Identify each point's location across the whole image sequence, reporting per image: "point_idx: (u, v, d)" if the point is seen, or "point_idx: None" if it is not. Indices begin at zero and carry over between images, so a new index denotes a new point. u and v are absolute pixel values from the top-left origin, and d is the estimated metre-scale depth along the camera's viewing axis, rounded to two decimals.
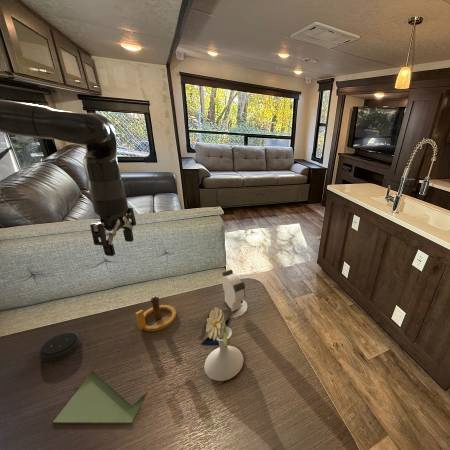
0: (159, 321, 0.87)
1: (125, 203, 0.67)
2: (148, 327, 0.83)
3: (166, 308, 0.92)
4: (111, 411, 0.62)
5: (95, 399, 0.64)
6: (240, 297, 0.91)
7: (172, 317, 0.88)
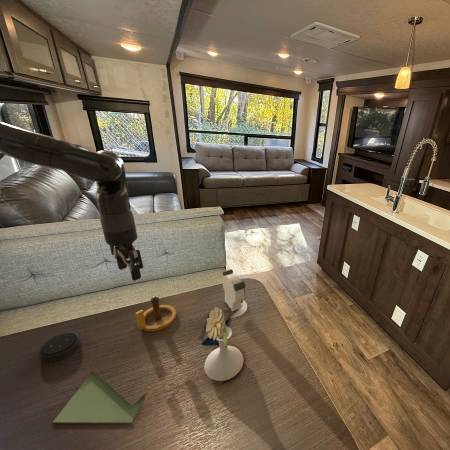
0: (159, 321, 0.87)
1: None
2: (148, 327, 0.83)
3: (166, 308, 0.92)
4: (111, 411, 0.62)
5: (95, 399, 0.64)
6: (240, 296, 0.91)
7: (172, 317, 0.88)
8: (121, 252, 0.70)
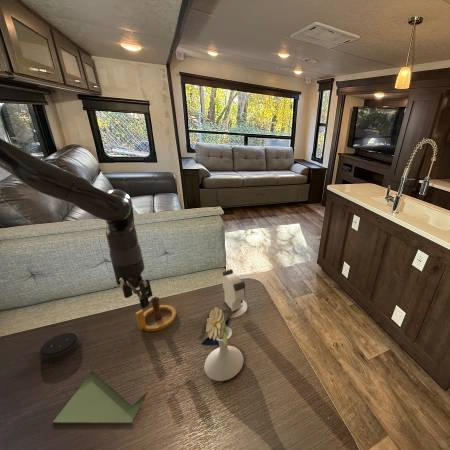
0: (159, 321, 0.87)
1: None
2: (148, 327, 0.83)
3: (166, 308, 0.92)
4: (111, 411, 0.62)
5: (95, 399, 0.64)
6: (240, 296, 0.91)
7: (172, 317, 0.88)
8: (130, 283, 0.73)
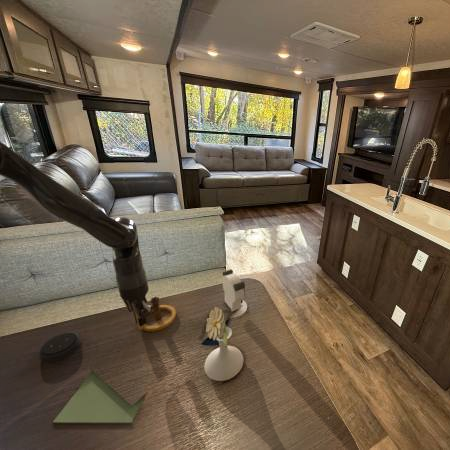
0: (159, 321, 0.87)
1: None
2: (148, 327, 0.83)
3: (166, 308, 0.92)
4: (111, 411, 0.62)
5: (95, 399, 0.64)
6: (240, 297, 0.91)
7: (172, 317, 0.88)
8: (135, 304, 0.76)
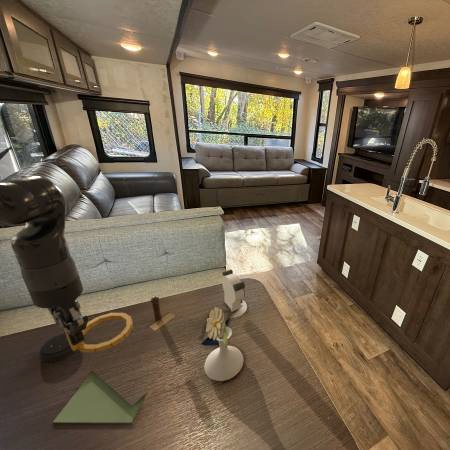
0: (159, 321, 0.87)
1: None
2: (86, 347, 0.56)
3: (120, 317, 0.66)
4: (111, 411, 0.62)
5: (95, 399, 0.64)
6: (240, 297, 0.91)
7: (125, 331, 0.61)
8: (59, 314, 0.50)
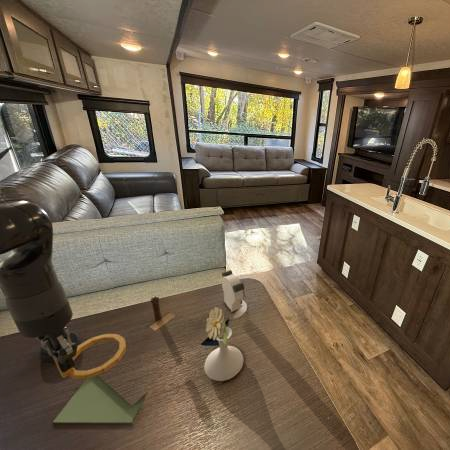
0: (159, 321, 0.87)
1: None
2: (76, 373, 0.54)
3: (113, 338, 0.64)
4: (111, 411, 0.62)
5: (95, 399, 0.64)
6: (239, 298, 0.91)
7: (118, 354, 0.59)
8: (47, 343, 0.48)
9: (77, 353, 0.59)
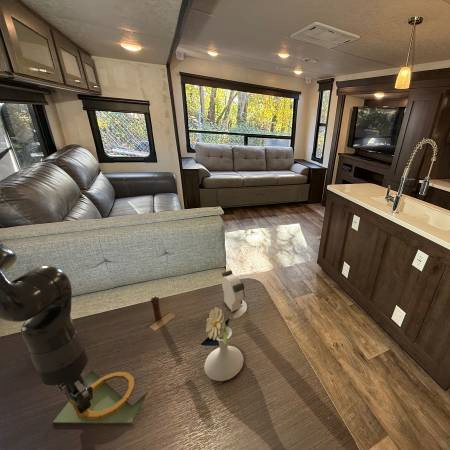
0: (159, 321, 0.87)
1: None
2: (91, 414, 0.60)
3: None
4: None
5: (95, 399, 0.64)
6: (239, 298, 0.91)
7: (128, 394, 0.65)
8: (65, 388, 0.53)
9: None
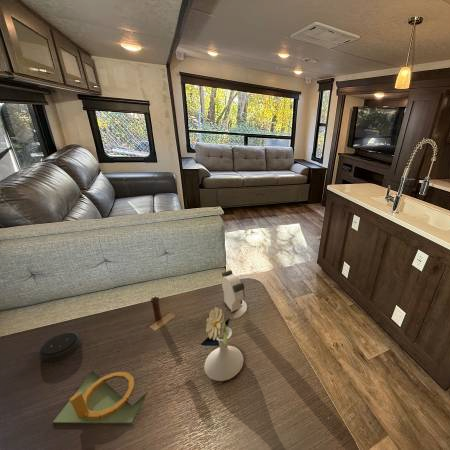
0: (159, 321, 0.87)
1: None
2: (91, 414, 0.60)
3: None
4: None
5: (95, 399, 0.64)
6: (239, 298, 0.91)
7: (128, 394, 0.65)
8: None
9: (90, 393, 0.64)
